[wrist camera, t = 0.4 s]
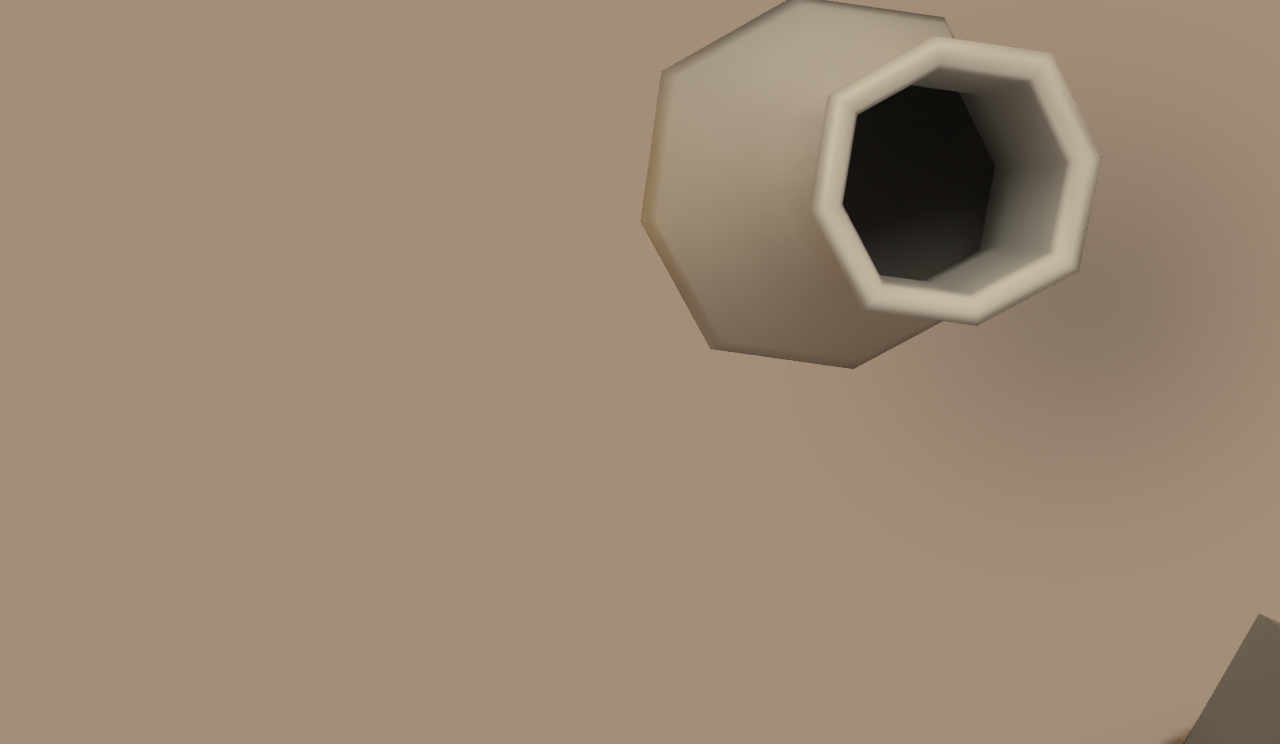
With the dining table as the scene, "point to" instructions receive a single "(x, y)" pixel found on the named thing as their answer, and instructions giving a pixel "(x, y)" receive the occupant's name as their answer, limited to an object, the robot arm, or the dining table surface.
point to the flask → (862, 181)
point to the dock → (1246, 693)
